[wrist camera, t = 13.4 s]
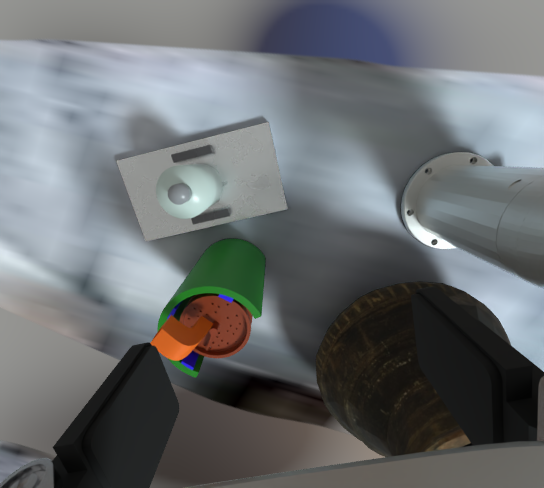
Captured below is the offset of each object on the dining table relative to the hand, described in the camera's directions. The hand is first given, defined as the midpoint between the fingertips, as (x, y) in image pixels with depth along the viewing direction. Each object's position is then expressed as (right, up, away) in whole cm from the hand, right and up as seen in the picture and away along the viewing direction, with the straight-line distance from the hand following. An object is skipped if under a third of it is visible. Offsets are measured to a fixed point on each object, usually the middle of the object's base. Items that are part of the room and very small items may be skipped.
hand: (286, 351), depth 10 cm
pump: (-10, +11, +27) cm, 31 cm away
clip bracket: (-9, +12, +28) cm, 32 cm away
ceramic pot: (+18, -10, +34) cm, 40 cm away
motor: (-7, 0, +32) cm, 33 cm away
